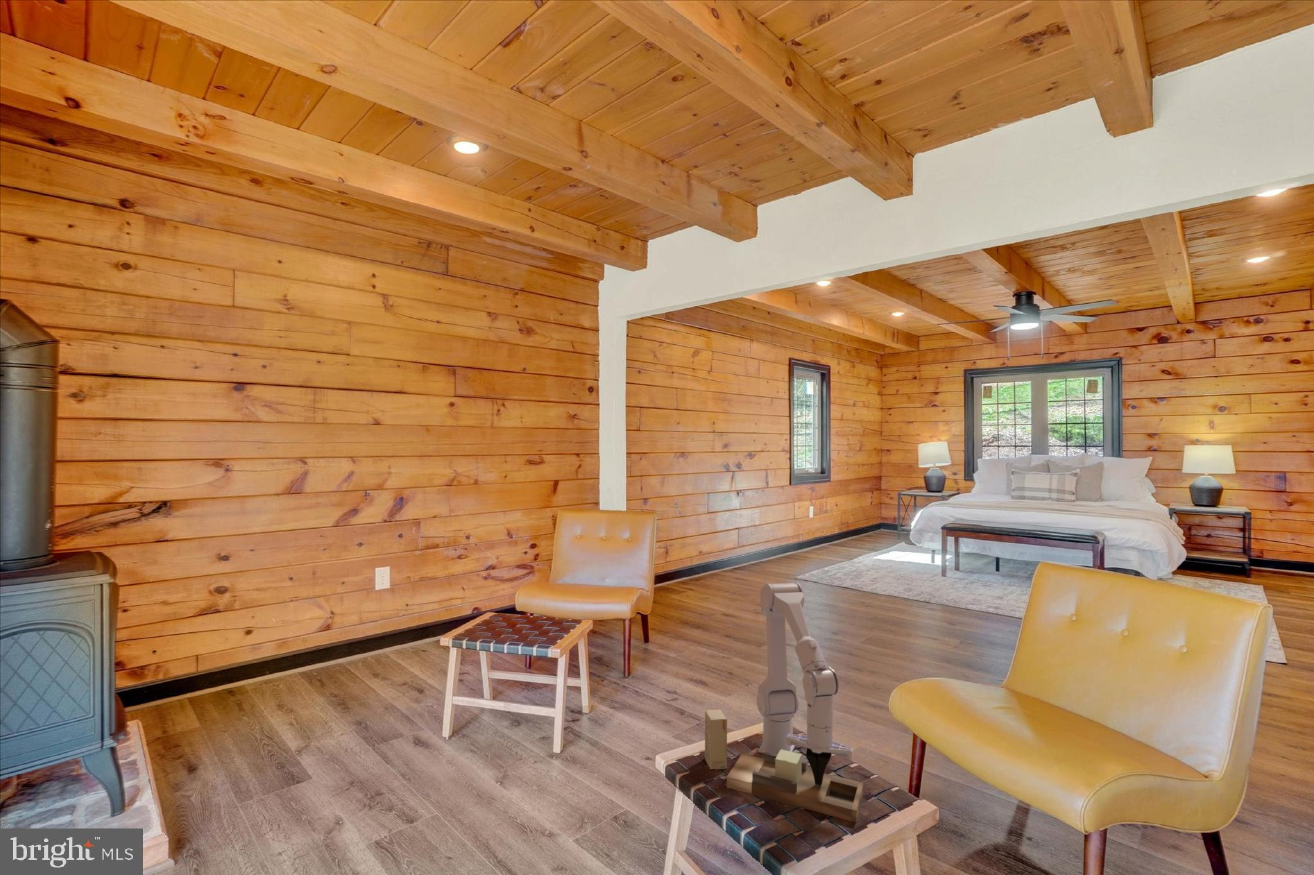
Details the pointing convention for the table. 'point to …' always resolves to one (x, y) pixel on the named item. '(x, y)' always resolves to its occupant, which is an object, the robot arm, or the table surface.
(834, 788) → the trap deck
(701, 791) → the table surface
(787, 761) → the sage block
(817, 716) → the robot arm
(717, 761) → the skincare box
